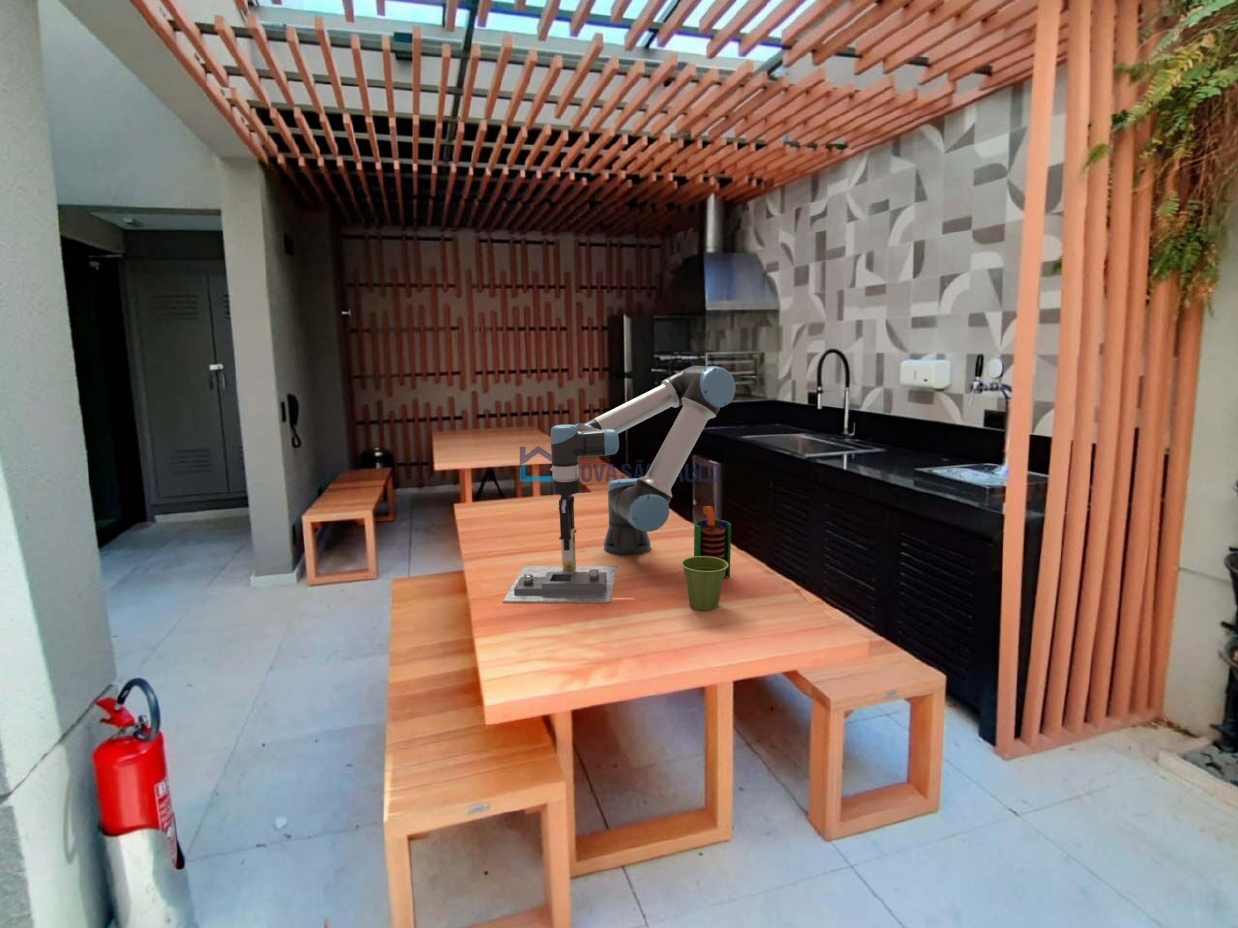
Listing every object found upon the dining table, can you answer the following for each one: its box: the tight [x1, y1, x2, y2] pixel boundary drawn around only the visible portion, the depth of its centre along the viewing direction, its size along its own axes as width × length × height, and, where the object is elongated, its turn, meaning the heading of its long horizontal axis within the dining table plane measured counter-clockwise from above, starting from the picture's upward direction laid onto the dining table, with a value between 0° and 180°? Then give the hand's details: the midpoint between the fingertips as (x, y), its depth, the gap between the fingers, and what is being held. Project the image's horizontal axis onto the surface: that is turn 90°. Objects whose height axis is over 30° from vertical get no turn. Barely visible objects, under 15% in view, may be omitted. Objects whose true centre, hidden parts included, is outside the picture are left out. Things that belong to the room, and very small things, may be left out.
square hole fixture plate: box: [502, 565, 618, 604], centre depth 183 cm, size 28×27×6 cm
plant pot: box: [680, 556, 729, 611], centre depth 166 cm, size 12×12×11 cm
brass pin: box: [560, 528, 577, 572], centre depth 192 cm, size 4×4×12 cm
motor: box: [693, 505, 732, 581], centre depth 186 cm, size 10×9×20 cm
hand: (568, 557), depth 192 cm, fingers closed on brass pin, 4 cm apart
